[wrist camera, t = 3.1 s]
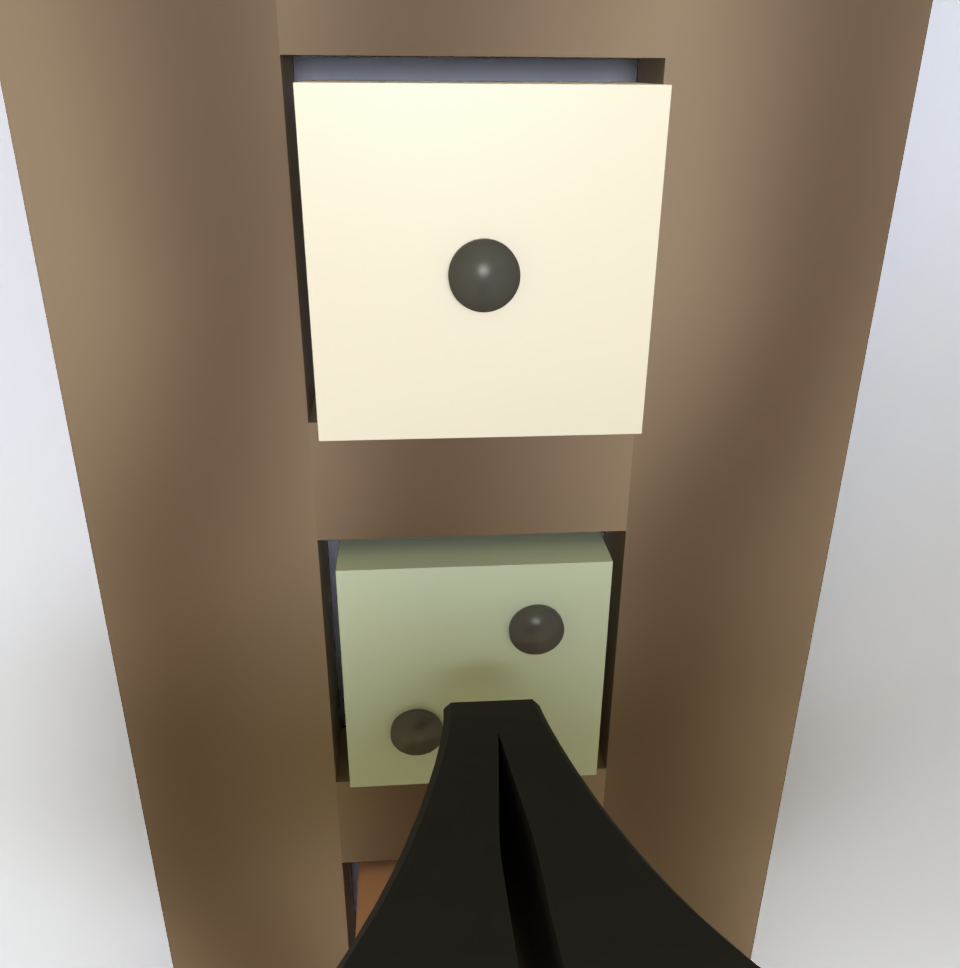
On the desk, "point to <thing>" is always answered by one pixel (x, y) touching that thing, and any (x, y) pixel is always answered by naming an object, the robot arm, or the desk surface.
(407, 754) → the sage button
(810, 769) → the desk surface
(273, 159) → the button board
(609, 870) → the robot arm
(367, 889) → the terracotta button
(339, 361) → the cream button
